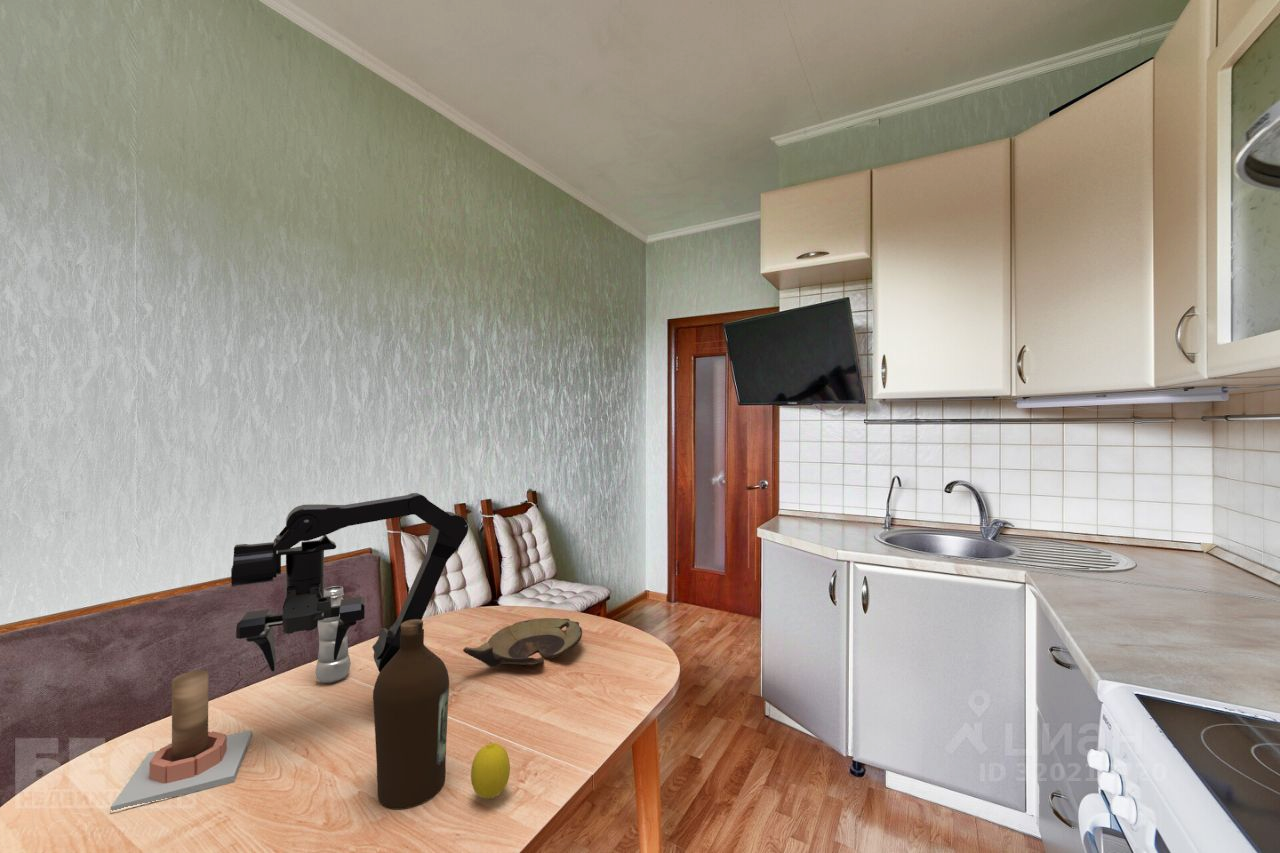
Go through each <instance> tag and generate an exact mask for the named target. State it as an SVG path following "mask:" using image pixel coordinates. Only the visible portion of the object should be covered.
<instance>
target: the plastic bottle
mask: <svg viewBox="0 0 1280 853" xmlns="http://www.w3.org/2000/svg"><path fill="white" fill-rule="evenodd" d="M329 596H330V597H331V607H332V606H339V605H340V604H341V599H344V598H343V596H345V594H344V586H343V585H342V586H341V585H335V586H329V587H326V588H324V597H329ZM338 621H339V616H338V617H331V618H325V619H324V620H318V626H317V630H318V642H319V643H318V644H319V646H318V656H317V662H316V666H315V676H316V679H317V681H318V682H319V683H322V684H330V683H335V682H339V681H340V680H343V679H345V678H346V676H348V674H349V673H350V669H351V664H352V663H351V658H350V653H349V643H348V638H349V636H348V634H349V629H348V630H347V632H346V634H345V636H344V638H343V641H342V644H341V647H340V650H339V653H338V656H337V659H336V660H334V647H335V641H336V634H337V627H338Z"/></svg>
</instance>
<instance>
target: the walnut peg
mask: <svg viewBox="0 0 1280 853" xmlns="http://www.w3.org/2000/svg"><path fill="white" fill-rule="evenodd" d="M208 732H209V671H208V670H205V669H198V670H192V671H188V672H184V673H182V674H180V675H177V676H175V677H173V678H172V682H171V743H172V762H174V761H178V760H182V759H187V758H191V757H195V756H197V755H198V754H200V753H202V752H204V751H206V750H208Z"/></svg>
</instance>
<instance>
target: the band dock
mask: <svg viewBox="0 0 1280 853" xmlns="http://www.w3.org/2000/svg"><path fill="white" fill-rule="evenodd" d="M252 738H253V729H250V730H244V731H241V732H235V733H232V734H231V733H230V734H226V733H222V732H218V731H214V730H212V731H208V750H206V751H204V752H202V753H200V754H198V755H197V756H195V757H191V758H187V759H182V760H178V761H174V762H172V742H171V743H169V744H167V745H165V746H163V747H161V748H160V749H159V750H156V751H151V752H148V753H147V754H146V756H145V757H144V758H143V760H142V762H141V763H140V765H139V766H138V767H137V768H136V770H135V772H134V773H133V774H132V776H131V777H130V778H129V780H128V782H127V783H126V785H125V786H124V787H123V789H122V790H121V792H120V793H119V794H118V796H117V798H116V799H115V800H114V802H113V803H112V804H111V806H110V811H111V810H112V811H113V810H117V809H121V808H124V807H128V806H133V805H137V804H142V803H148V802H152V801H156V800H161V799H165V798H170V797H174V798H176V797H175V796H178V797H180V796H179V795H182V796H185V795H184V794H186V795H188V793H189V794H192V793H196V792H197V793H198V792H200V791H201V792H202V791H204V790H209V789H212V788H213V789H214V788H216V787H219V786H224V785H228V784H231V783H234V782H235V780H236V778H237V776H238V773H239V770H240V768H241V766H242V763H243V760H244V757H245V755H246V753H245V752H247V750H248V748H249V745H250V742H251V739H252ZM247 747H248V748H247ZM170 799H171V798H170Z"/></svg>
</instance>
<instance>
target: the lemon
mask: <svg viewBox="0 0 1280 853" xmlns="http://www.w3.org/2000/svg"><path fill="white" fill-rule="evenodd" d="M470 771H471V772H470V780H471V786H472V788H473V790H474V792H475V794H477V795H478V796H479V797H481V798H482V799H483V798H484V799H489V800H492V799H493V798H495V797H497V796H498V795H500V794H501V793H502V792H503V790H504V789H505V788H506V786H507V784H508V782H509V778H510V773H511V772H510V771H511V763H510V758H509V755H508V752H507V750H506V749H505V747H504V746H502V745H501V744H499V743H494V742H489V743H488V744H485V745H484V746H482V747H481V748H480V749H478V751H477V752H476V754H475V756H474V758H473V760H472V765H471V770H470Z"/></svg>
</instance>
